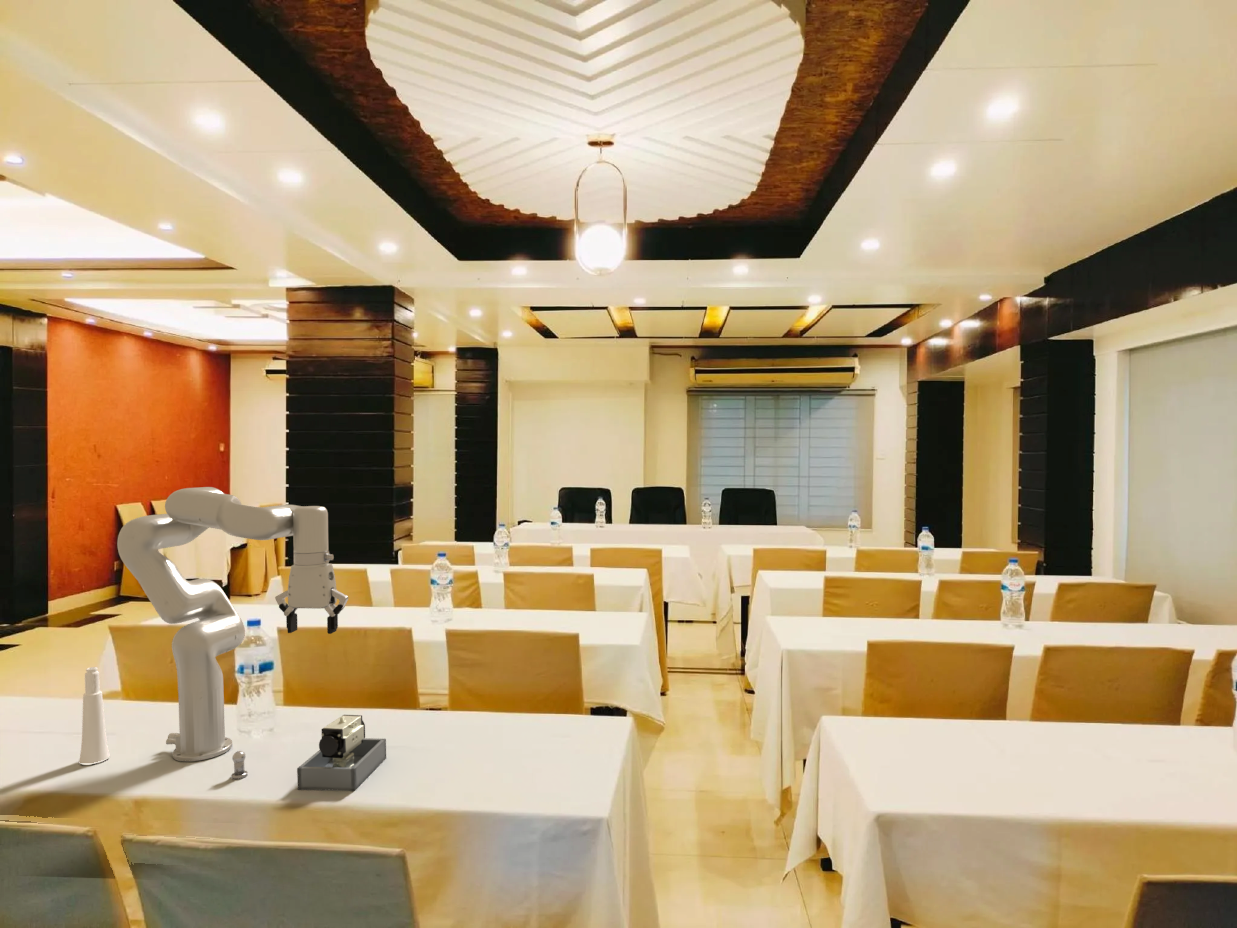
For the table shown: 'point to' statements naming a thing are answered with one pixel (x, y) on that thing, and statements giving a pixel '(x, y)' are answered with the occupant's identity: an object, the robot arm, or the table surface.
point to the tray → (342, 768)
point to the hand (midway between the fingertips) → (312, 632)
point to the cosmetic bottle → (93, 721)
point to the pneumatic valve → (342, 739)
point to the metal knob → (239, 765)
